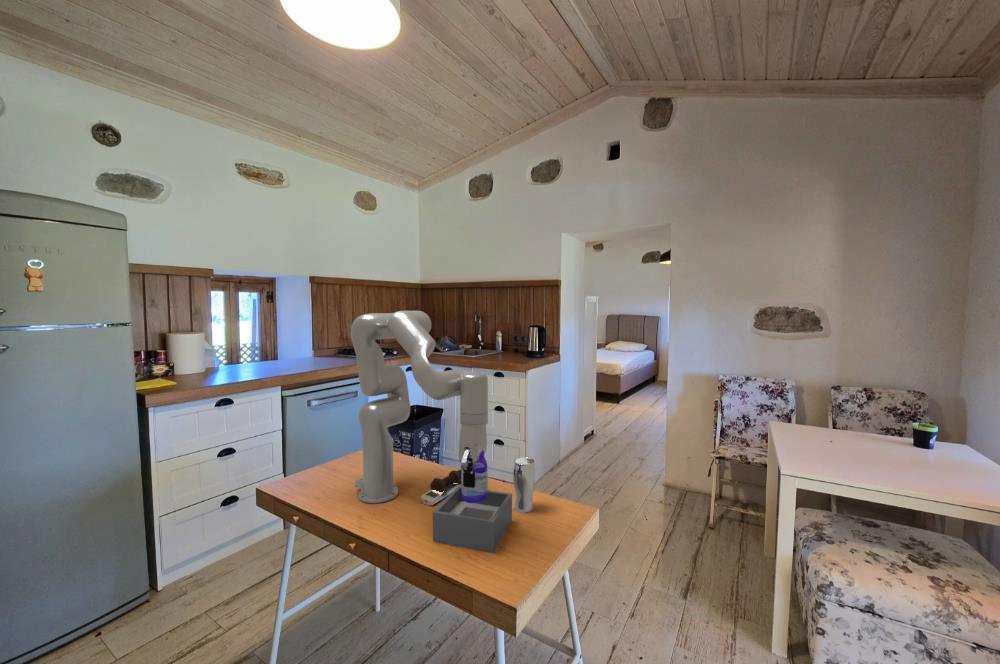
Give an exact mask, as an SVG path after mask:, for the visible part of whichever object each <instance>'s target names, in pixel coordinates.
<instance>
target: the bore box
mask: <svg viewBox="0 0 1000 664" xmlns="http://www.w3.org/2000/svg"><path fill="white" fill-rule="evenodd" d="M512 521H513V494H512V493H508V492H501V491H494V490H488V494H487V498H486V499H485V500H483V501H480V502H475V503H467V502H465V501H464V499H463V497H462V493H461V485H460V486H459V485H458V486H457V487H456V488H455V489H453V491H451V493H449V495H447V497H446V498H445V499H443V501H442V502H441V503H440V504H439V505H437V507H436V508H435V509H434V510H433V511H432V542H433V543H439V544H444V545H450V546H456V547H459V548H466V549H471V550H476V551H481V552H488V553H492V554H494V553H495V551H496V549H497V548H498V547H499V544H500V543H501V541H502V538H503V537H504V535H505V533H506V532H507V530H508V528H509V527H510V524H511V523H512Z"/></svg>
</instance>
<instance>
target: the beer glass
mask: <svg viewBox="0 0 1000 664" xmlns="http://www.w3.org/2000/svg"><path fill="white" fill-rule="evenodd" d="M512 469H513V470H512V478H513V479H512V481H513V486H514V494H515V500H514V507H513V509H514V510H515V511H516V512H518V513H524V514H527V513H530V512H533V511H534V509H535V507H534V501H533V499H534V498H533V496H534V489H535V484H536V476H537V475H536V474H537V473H536V460H535V459H534V458H532V457H529V456H527V457H526V456H520V457H516V458H514V459H513V468H512Z"/></svg>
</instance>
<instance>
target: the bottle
mask: <svg viewBox="0 0 1000 664" xmlns="http://www.w3.org/2000/svg"><path fill="white" fill-rule="evenodd" d="M484 456H485V455H484V451H483V450H482V451H481V453H480V456H479V460H478V461H477V462H475V466H474V473H475V487H474V488H470V487H464V486H463V469H462V466H461V465H460V470H461V481H460V482H461V485H460V487H461V493H462V497H463V499H464V501H465V502H467V503H475V502H480V501H483V500H485V499H486V498H487V494H488V489H489V487H488V481H489V480H488V478H489V477H488V476H489V475H488V462H487V460H486V457H485V458H484ZM468 461H473V459H468ZM468 465H469V466H470V468H471V464H470V463H468Z"/></svg>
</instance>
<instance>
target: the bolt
mask: <svg viewBox="0 0 1000 664" xmlns="http://www.w3.org/2000/svg"><path fill="white" fill-rule="evenodd" d="M460 482H461V469H459V470H451V471H450V472H448V475H447V476H445V477H443V478H438V477H435V478H433V480H432V481H431V483H430V490H436V491H439V492H443V491H444V492H445V491H446V489H447V488H448V487H451V486H452V485H454V484H453V483H459V484H460ZM446 487H447V488H446Z"/></svg>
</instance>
